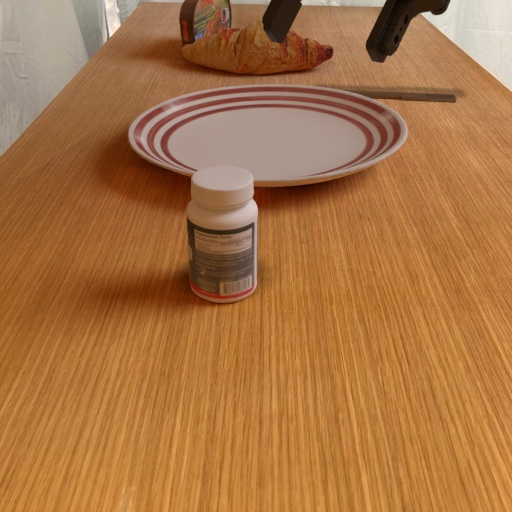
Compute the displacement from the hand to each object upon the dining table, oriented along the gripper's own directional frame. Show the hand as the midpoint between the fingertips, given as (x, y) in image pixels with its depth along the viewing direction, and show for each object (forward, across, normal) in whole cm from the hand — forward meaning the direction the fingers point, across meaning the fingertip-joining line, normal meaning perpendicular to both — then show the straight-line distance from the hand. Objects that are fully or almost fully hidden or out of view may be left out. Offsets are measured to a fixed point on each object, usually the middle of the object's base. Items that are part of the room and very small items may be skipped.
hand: (320, 46), depth 49 cm
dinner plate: (+3, -13, +18) cm, 22 cm away
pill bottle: (+18, 0, +3) cm, 18 cm away
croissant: (-15, -33, +36) cm, 50 cm away
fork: (-14, -11, +35) cm, 40 cm away
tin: (-17, -45, +38) cm, 61 cm away
